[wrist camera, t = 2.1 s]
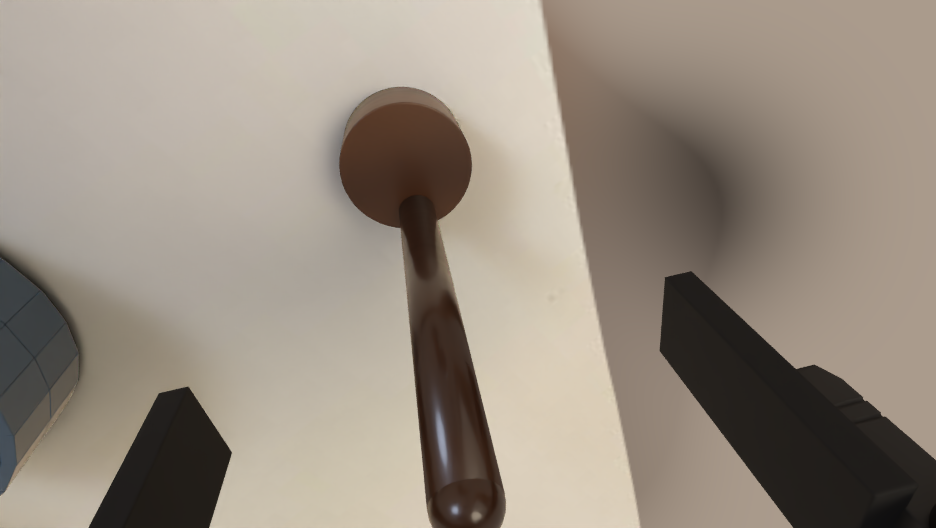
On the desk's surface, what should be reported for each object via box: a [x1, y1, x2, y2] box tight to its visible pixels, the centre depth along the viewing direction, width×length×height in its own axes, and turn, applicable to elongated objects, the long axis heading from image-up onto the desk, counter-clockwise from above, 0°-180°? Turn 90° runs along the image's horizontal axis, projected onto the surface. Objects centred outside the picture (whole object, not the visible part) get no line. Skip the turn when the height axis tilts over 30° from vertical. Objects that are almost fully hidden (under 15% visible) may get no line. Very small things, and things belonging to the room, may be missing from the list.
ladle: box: [339, 87, 506, 528], centre depth 16 cm, size 6×6×18 cm
